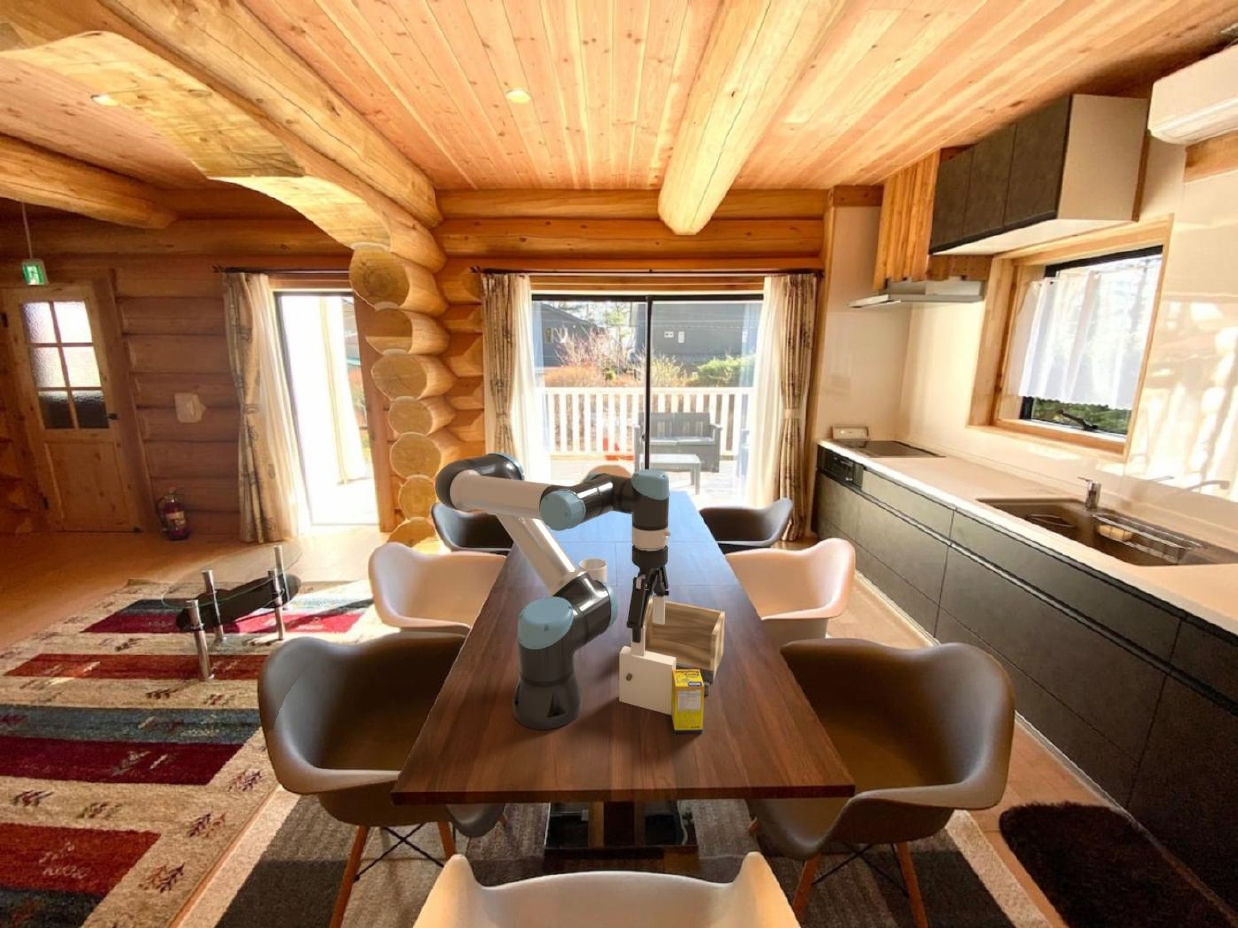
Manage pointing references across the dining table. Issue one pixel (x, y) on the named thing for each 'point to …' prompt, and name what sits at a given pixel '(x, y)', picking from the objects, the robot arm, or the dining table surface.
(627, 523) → the dining table surface
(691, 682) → the supplement box
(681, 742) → the dining table surface
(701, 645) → the carcass
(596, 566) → the mug
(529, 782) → the dining table surface
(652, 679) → the door
